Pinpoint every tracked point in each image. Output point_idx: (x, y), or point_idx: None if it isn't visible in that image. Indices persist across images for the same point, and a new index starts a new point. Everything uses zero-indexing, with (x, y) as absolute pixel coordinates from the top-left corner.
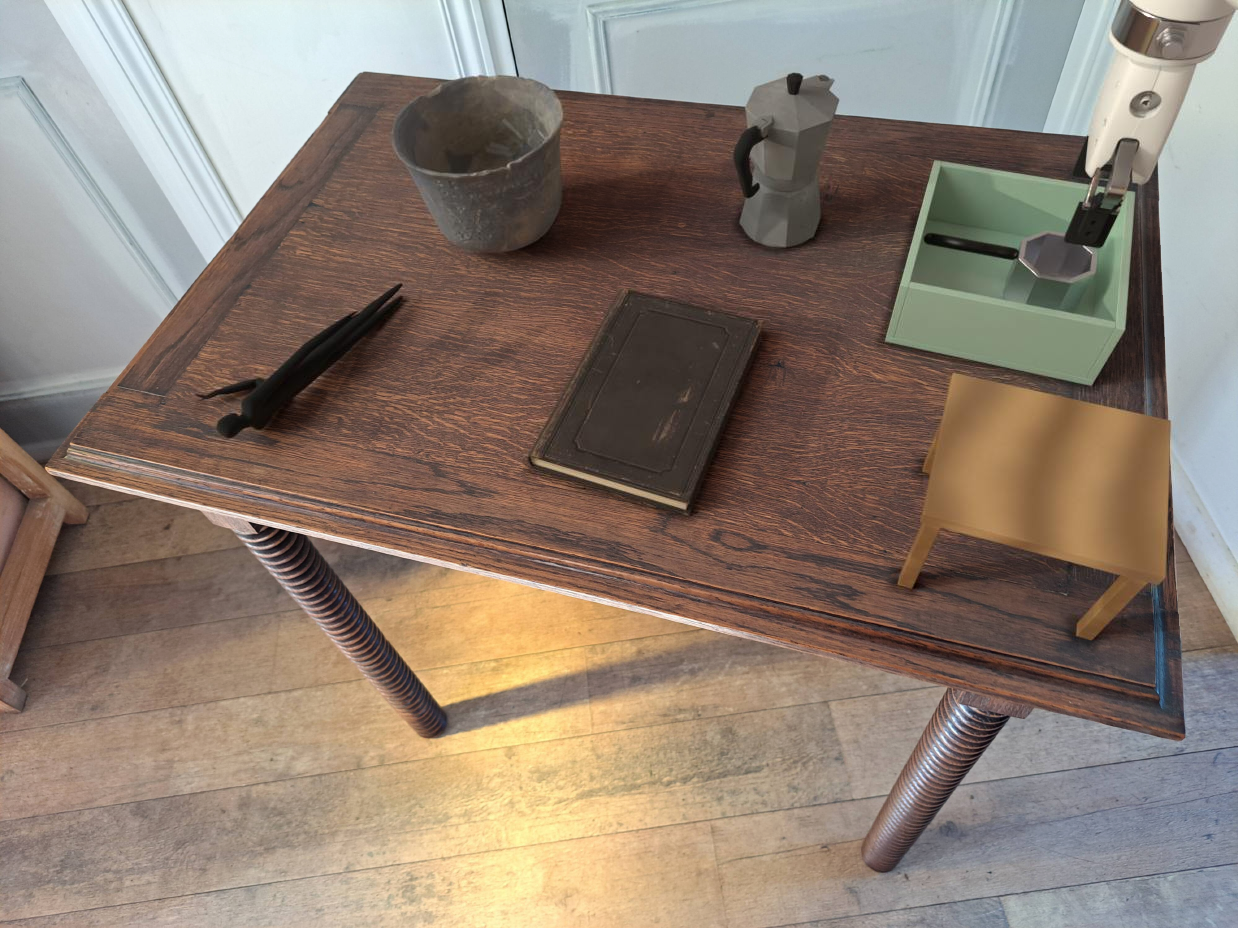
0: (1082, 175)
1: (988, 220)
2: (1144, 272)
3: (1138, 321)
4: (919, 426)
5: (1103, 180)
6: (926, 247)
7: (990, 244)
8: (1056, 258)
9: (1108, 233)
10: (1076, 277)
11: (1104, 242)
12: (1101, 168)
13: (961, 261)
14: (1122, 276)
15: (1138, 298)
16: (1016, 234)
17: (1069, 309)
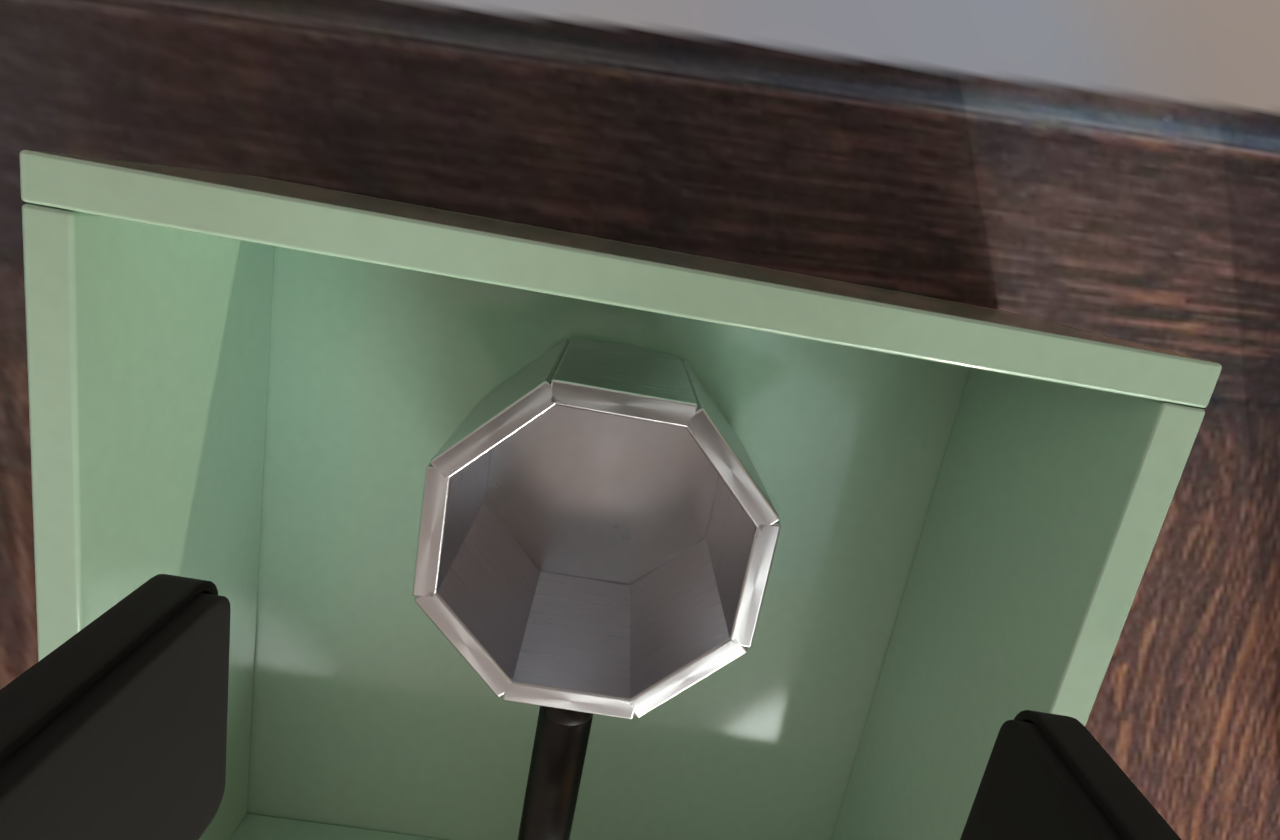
0: (213, 767)
1: (234, 654)
2: (356, 20)
3: (657, 91)
4: (1152, 800)
5: (224, 611)
6: (400, 809)
7: (545, 810)
8: (474, 466)
9: (1159, 820)
10: (740, 493)
11: (1098, 746)
12: (162, 734)
13: (452, 709)
14: (822, 330)
15: (523, 71)
16: (259, 525)
17: (710, 398)
